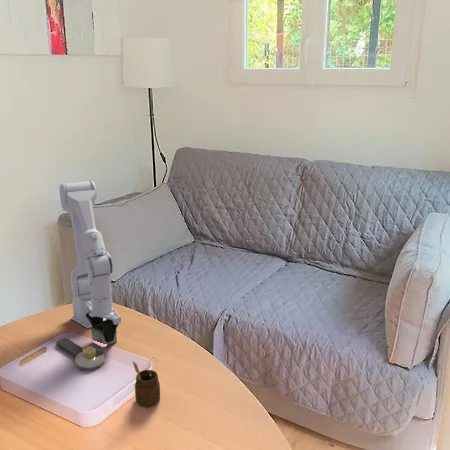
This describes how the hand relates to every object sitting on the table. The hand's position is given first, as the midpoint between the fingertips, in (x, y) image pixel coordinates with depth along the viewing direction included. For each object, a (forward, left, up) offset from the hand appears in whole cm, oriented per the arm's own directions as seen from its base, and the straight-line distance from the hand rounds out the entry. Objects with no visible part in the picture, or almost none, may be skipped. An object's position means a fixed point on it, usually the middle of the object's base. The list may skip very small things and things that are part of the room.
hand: (104, 337), depth 148 cm
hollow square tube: (0, 0, -1) cm, 1 cm away
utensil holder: (+30, -9, -2) cm, 31 cm away
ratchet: (+1, -9, -1) cm, 9 cm away
